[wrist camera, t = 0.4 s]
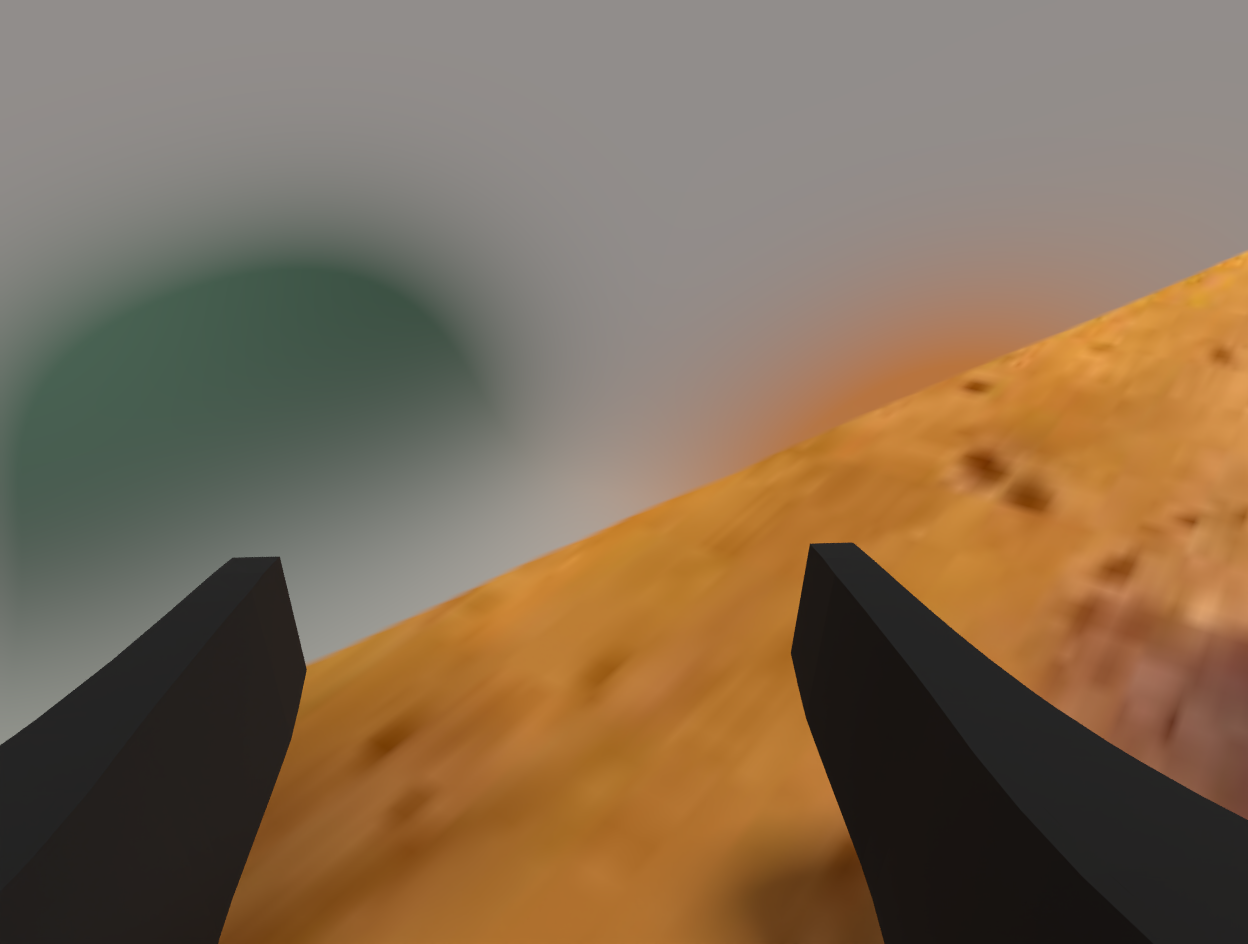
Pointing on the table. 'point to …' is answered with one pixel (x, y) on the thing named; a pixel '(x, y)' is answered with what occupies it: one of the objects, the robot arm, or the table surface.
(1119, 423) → the table surface
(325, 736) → the table surface
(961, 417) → the table surface
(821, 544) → the robot arm
